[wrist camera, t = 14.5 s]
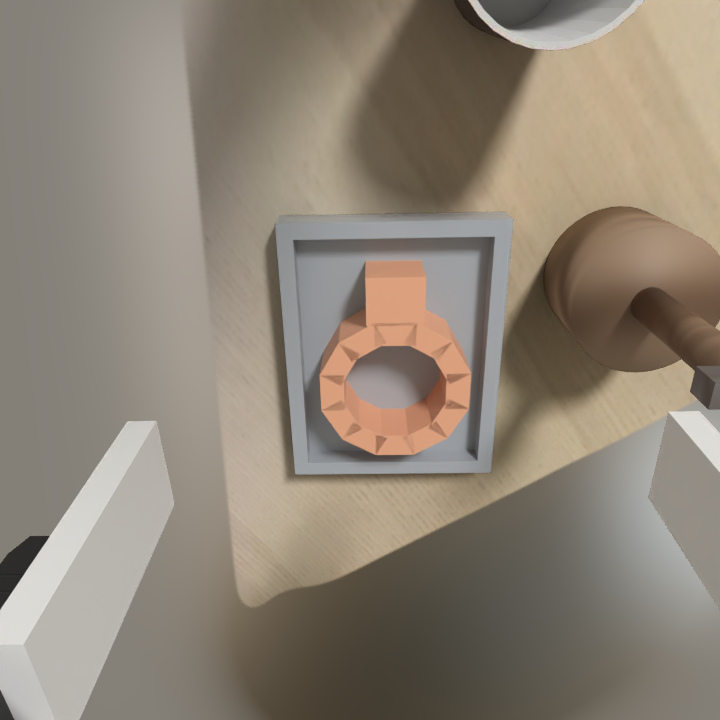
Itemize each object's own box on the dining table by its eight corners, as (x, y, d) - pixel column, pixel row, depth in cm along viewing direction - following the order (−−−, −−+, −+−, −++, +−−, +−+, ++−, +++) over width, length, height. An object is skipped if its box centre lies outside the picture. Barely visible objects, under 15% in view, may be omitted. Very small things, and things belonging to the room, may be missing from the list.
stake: (551, 207, 37) (677, 296, 22) (689, 205, 36) (911, 292, 22) (536, 333, 40) (636, 483, 25) (662, 331, 40) (837, 481, 25)
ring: (458, 426, 42) (465, 454, 39) (327, 427, 43) (323, 455, 40) (468, 259, 37) (477, 276, 34) (318, 261, 37) (314, 278, 34)
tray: (279, 215, 37) (275, 223, 35) (505, 211, 37) (513, 219, 35) (298, 456, 45) (295, 474, 43) (485, 454, 44) (490, 472, 42)
